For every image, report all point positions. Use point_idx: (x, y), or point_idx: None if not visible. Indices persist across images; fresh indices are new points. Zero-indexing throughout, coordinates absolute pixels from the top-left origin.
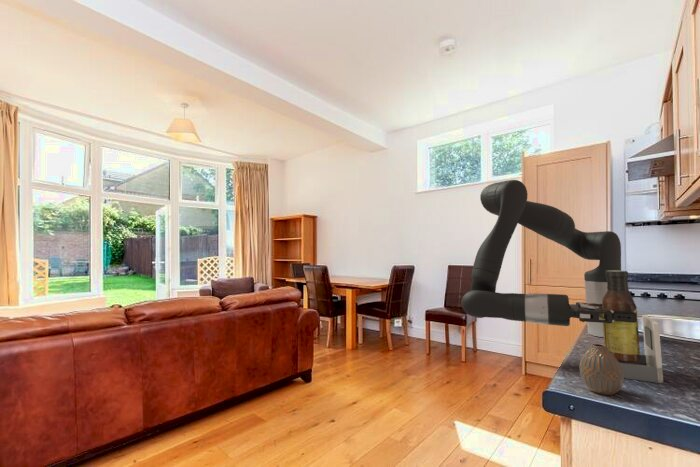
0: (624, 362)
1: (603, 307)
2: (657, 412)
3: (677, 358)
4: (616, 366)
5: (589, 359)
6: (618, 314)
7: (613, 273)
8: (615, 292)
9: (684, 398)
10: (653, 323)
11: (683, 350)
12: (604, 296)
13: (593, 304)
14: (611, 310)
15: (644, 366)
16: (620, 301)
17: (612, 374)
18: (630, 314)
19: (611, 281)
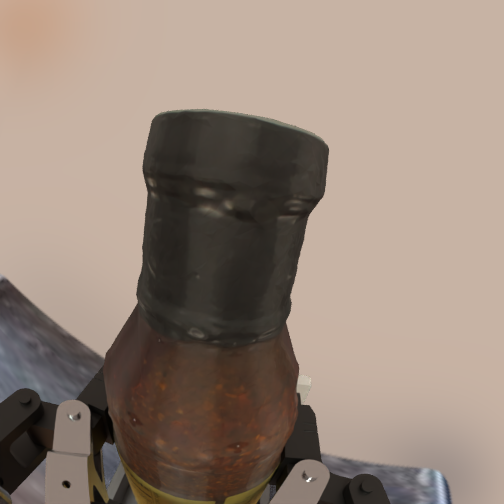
0: (126, 487)
1: (204, 484)
2: (433, 499)
3: (67, 354)
4: None
5: None
6: (319, 456)
7: (321, 165)
8: (278, 347)
9: (341, 467)
10: (309, 386)
11: (31, 315)
12: (199, 423)
13: (89, 494)
14: (316, 471)
15: (268, 488)
16: (295, 389)
17: None
18: (314, 414)
19: (285, 256)
